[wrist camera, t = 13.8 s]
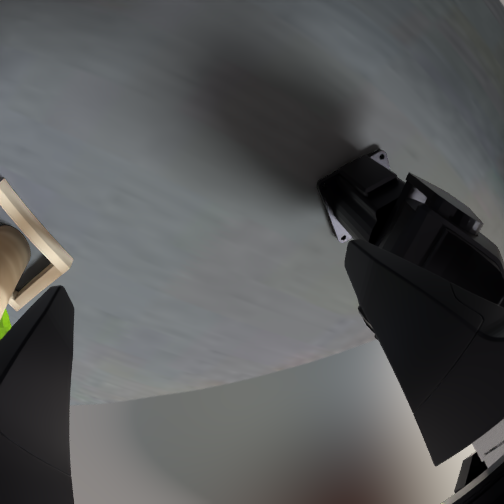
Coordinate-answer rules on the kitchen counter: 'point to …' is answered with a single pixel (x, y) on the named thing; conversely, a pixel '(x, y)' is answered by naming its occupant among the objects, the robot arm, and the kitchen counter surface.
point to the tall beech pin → (11, 262)
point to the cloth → (4, 324)
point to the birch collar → (41, 239)
